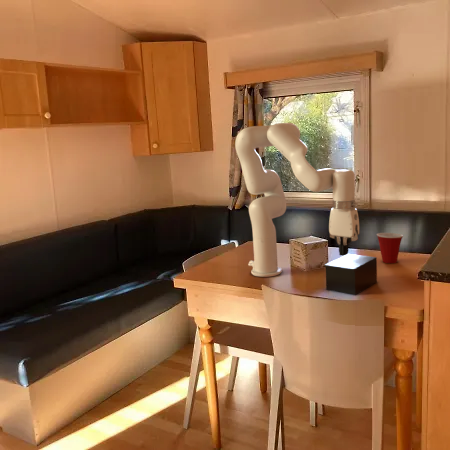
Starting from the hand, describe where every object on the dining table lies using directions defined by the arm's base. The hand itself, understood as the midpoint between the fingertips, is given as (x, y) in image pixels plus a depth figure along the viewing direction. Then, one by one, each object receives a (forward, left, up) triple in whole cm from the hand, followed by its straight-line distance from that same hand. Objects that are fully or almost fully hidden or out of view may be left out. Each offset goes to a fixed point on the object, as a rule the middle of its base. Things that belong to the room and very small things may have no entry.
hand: (343, 254), depth 180 cm
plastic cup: (0, +39, -12) cm, 41 cm away
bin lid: (+2, +1, -3) cm, 4 cm away
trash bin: (+2, +2, -12) cm, 12 cm away
